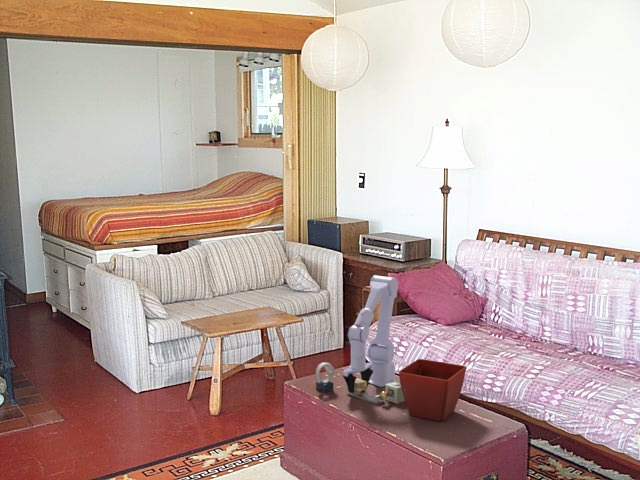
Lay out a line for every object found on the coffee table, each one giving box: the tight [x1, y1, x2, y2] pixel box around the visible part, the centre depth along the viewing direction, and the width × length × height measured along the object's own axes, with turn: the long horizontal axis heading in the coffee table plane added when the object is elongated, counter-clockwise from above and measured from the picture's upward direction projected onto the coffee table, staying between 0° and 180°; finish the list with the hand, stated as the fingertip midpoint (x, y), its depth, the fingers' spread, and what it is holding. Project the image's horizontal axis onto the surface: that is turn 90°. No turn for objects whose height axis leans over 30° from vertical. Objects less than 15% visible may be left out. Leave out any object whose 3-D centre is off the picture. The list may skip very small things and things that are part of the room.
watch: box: [315, 361, 336, 394], centre depth 292 cm, size 6×8×11 cm
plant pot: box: [398, 358, 467, 422], centre depth 267 cm, size 19×19×17 cm
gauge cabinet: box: [384, 380, 405, 405], centre depth 281 cm, size 6×6×6 cm
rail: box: [346, 386, 385, 405], centre depth 283 cm, size 4×16×3 cm, turn 43°
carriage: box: [354, 377, 368, 395], centre depth 286 cm, size 4×5×4 cm
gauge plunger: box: [378, 390, 394, 401], centre depth 278 cm, size 7×3×3 cm, turn 133°
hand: (357, 389), depth 286 cm, fingers open, 7 cm apart
